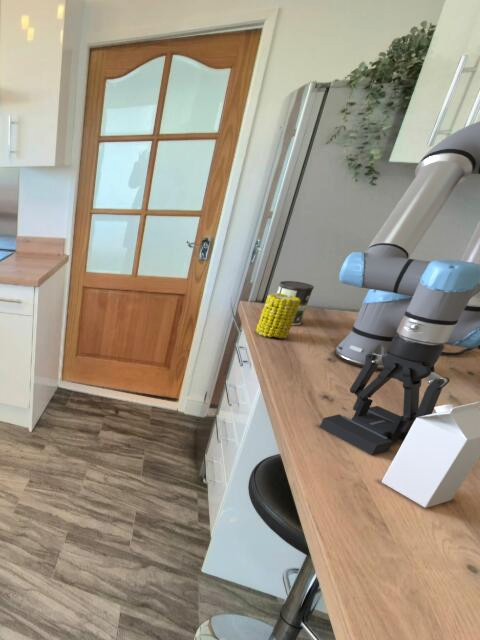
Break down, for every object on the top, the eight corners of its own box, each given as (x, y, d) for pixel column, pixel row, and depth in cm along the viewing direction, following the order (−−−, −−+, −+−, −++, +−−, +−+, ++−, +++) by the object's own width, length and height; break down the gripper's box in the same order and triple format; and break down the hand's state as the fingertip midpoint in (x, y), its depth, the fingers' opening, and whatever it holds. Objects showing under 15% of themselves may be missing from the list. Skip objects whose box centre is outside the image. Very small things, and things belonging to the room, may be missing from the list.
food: (249, 338, 151) (265, 333, 156) (287, 341, 141) (302, 337, 146) (253, 294, 148) (268, 291, 153) (292, 295, 138) (307, 292, 143)
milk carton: (451, 500, 78) (509, 412, 70) (424, 509, 76) (480, 419, 68) (406, 475, 84) (454, 391, 76) (380, 482, 82) (426, 397, 74)
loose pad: (366, 423, 100) (372, 412, 99) (398, 439, 95) (404, 427, 94) (347, 428, 99) (352, 417, 97) (378, 444, 93) (383, 432, 92)
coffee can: (300, 319, 164) (313, 283, 158) (301, 327, 156) (314, 289, 150) (268, 314, 169) (279, 279, 163) (268, 322, 161) (279, 285, 155)
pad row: (372, 414, 104) (377, 404, 103) (428, 440, 94) (433, 430, 93) (319, 426, 99) (323, 417, 98) (371, 455, 90) (377, 444, 89)
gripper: (355, 324, 94) (317, 413, 104) (470, 360, 77) (412, 462, 87) (379, 321, 96) (339, 408, 106) (496, 355, 79) (436, 455, 89)
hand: (372, 432), depth 97 cm, fingers closed on loose pad, 6 cm apart
